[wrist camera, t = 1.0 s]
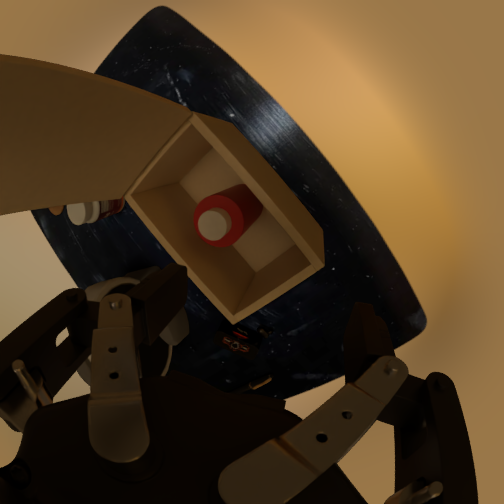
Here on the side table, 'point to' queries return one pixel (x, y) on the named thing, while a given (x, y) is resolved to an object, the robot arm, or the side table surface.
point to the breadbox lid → (74, 134)
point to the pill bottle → (94, 210)
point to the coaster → (56, 209)
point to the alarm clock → (152, 356)
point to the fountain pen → (253, 384)
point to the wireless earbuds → (240, 339)
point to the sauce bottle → (226, 215)
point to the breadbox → (251, 242)
